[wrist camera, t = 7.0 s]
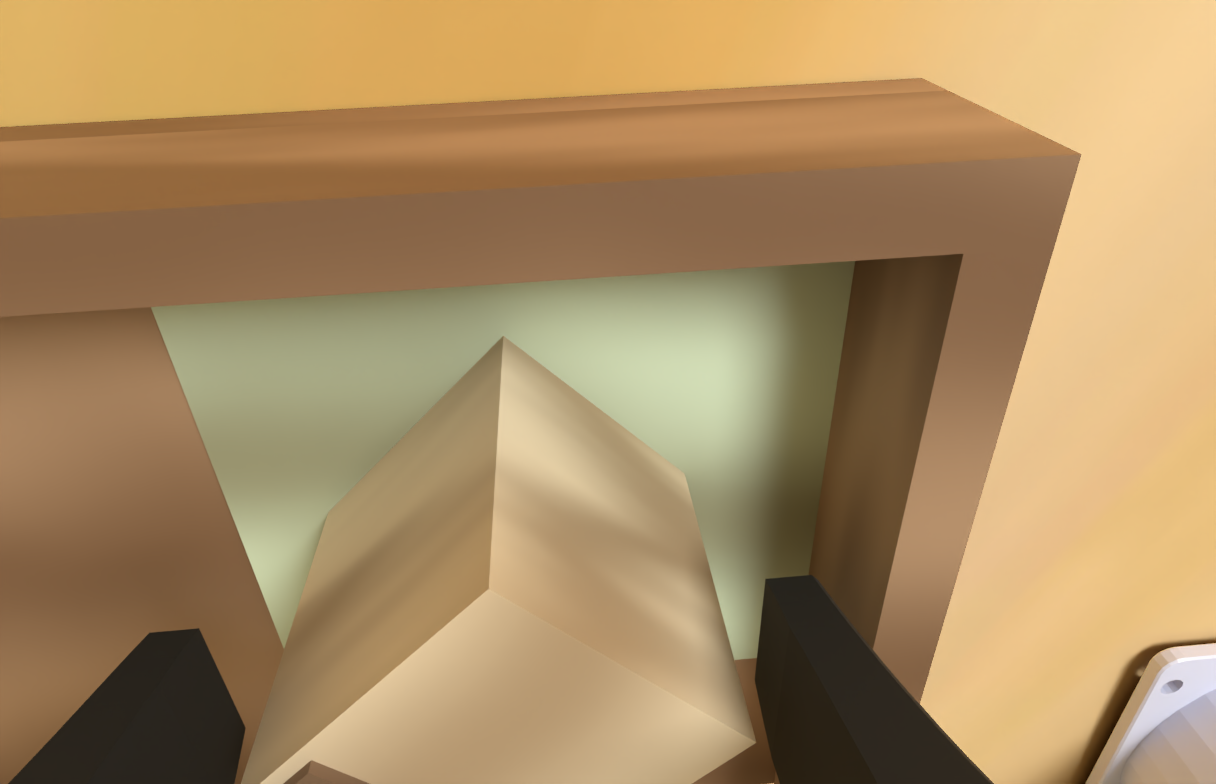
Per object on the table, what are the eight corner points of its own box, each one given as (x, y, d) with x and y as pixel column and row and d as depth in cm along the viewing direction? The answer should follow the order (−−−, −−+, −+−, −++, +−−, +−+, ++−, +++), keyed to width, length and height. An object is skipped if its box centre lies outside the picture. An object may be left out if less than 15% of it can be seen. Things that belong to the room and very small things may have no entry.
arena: (804, 748, 20) (858, 913, 17) (-19, 830, 19) (-131, 1023, 15) (922, 77, 11) (1081, 154, 8) (-604, 159, 10) (-1137, 284, 7)
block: (685, 473, 13) (759, 755, 9) (511, 615, 15) (503, 915, 10) (503, 335, 12) (488, 601, 7) (328, 512, 13) (228, 819, 9)
